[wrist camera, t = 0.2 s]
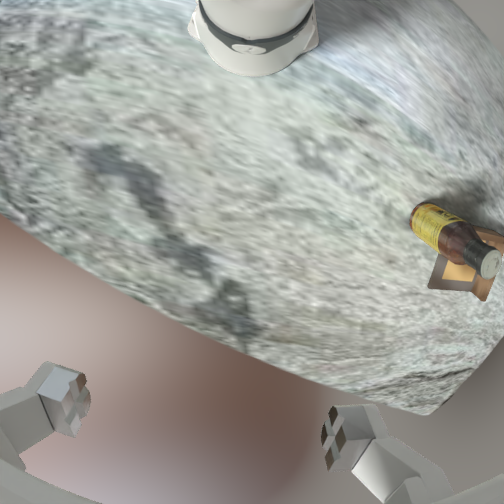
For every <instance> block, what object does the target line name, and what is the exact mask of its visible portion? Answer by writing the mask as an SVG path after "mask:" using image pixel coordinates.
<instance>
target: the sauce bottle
mask: <svg viewBox="0 0 504 504" xmlns="http://www.w3.org/2000/svg"><path fill="white" fill-rule="evenodd" d="M410 227H411V229H412V231H413V232H414V233H415V234H416V236H417V237H419V238H420V239H421V240H423V241H424V242H425V243H427V244H428V245H429V246H431V247H432V248H433V249H434V250H436V251H437V252H438V253H439V254H441V255H442V256H444V257H445V258H447V259H448V260H449V261H450V262H452V263H454V264H456V265H466V264H467V265H468V266H470V267H472V268H473V269H474V270H476V272H477V274H478V275H480V276H481V277H482V278H484V279H486V280H488V279H491V278H493V277H494V276H495V275H496V274H497V273H498V271H499V269H500V267H501V263H502V256H501V253H500V251H499V250H498V249H496V248H495V247H494V246H489V245H488V244H486V243H484V242H483V241H482V240H481V238H480V237H479V235H478V234H477V232H476V231H475V229H474V228H473V226H472V225H471V224H470V223H468V222H467V221H465V220H463V219H461V218H459V217H457V216H455V215H454V214H452V213H450V212H448V211H446V210H444V209H442V208H440V207H438V206H436V205H434V204H429V203H422V204H419V205H418V206H417V207H416V208H415V209H414V210H413V211H412V213H411V216H410Z"/></svg>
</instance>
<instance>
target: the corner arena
mask: <svg viewBox="0 0 504 504" xmlns="http://www.w3.org/2000/svg"><path fill="white" fill-rule="evenodd" d="M472 226H473V228H474V229H475V231H476V232H477V234H478V235H479V237H480V238H481V240H482V241H483V242H484V243H486V244H488V245H489V246H494V247H495V248H496V249H498V250H499V251H500V253H501V256H503V253H504V236H502V235H501V234H499V233H497V232H495V231H494V230H490V229H486V228H482V227H478V226H474V225H472ZM495 276H496V275H495ZM495 276H494V277H493V278H491V279H488V280H486V279H484V278H482V277H481V276H480V275H478V274H477V272H476V270H474V269H473V268H472V267H470V266H468V265H467V264H466V265H456V264H454V263H452V262H450V261H449V260H448V259H447V258H445V257H444V256H442V255H441V254H438V257H437V260H436V263H435V266H434V269H433V272H432V275H431V278H430V281H429V284H428V286H427V287H428V288H429V289H440V290H455V291H470V292H472V293H473V294H474V295H475V296H477V297H478V298H479V299H480V300H481V301H486V299H487V296H488V294H489V291H490V289H491V286H492V284H493V281H494V279H495Z"/></svg>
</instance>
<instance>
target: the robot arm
mask: <svg viewBox="0 0 504 504" xmlns="http://www.w3.org/2000/svg"><path fill="white" fill-rule="evenodd" d="M196 3H197V6H196V8H195V11H194V13H193V15H192V18H191V20H190V22H189V25H188V32H189V34H190V35H191V36H192V37H193V38H195V39H196V40H198V41H199V42H201V43H202V44H203V46H204V47H205V49H206V51H207V52H208V54H209V56H210V57H211V58H212V59H213V60H214V62H216V63H217V64H218V65H219V66H220V67H222V68H223V69H225V70H227V71H229V72H232V73H234V74H238V75H242V76H249V77H258V76H265V75H270V74H273V73H276V72H278V71H280V70H282V69H283V68H285V67H286V66H288V65H289V64H290V63H291V62H292V61H293V60H294V59H295V58H296V57H297V56H299V55H300V54H302V53H305V52H307V51H310V50H312V49H314V48H316V47H317V45H318V43H319V37H318V28H317V20H316V13H315V5H314V0H196ZM86 382H87V380H86V376H85V374H83V373H81V372H79V371H75V370H72V369H69V368H66V367H63V366H61V365H57V364H54V363H51V362H48V361H47V362H44V363H43V364H42V365H41V367H40V368H39V369H38V370H37V372H36V373H35V374H34V375H33V376H32V378H31V379H30V380H29V382H28V383H27V384H26V385H25V387H24V388H22V387H19V388H16V389H14V390H11V391H8V392H5V393H3V394H0V504H102V503H99V502H96V501H92V500H89V499H87V498H84V497H81V496H79V495H76V494H73V493H71V492H68V491H66V490H63V489H61V488H59V487H56V486H54V485H52V484H49V483H47V482H45V481H43V480H41V479H38V478H37V477H34V476H32V475H30V474H28V473H27V472H25V469H26V467H25V464H24V463H23V461H22V460H21V458H20V457H19V454H20V453H22V452H23V451H25V450H27V449H28V448H30V447H31V446H33V445H34V444H36V443H37V442H39V441H41V440H42V439H44V438H46V437H47V436H49V435H50V434H52V433H53V432H54V431H56V432H59V433H62V434H64V435H67V436H70V437H73V438H75V437H76V435H77V432H78V431H79V429H80V427H81V425H82V424H81V421H80V419H81V418H83V417H85V416H86V415H87V413H88V411H89V408H90V403H91V397H90V392H89V390H88V389H87V388H86V387H85V384H86ZM328 415H329V419H328V420H327V421H325V422H324V424H323V427H322V431H321V443H322V447H323V448H324V449H325V450H326V451H328V452H327V454H326V455H325V461H326V465H327V470H328V472H337V471H350V470H352V473H354V475H355V476H356V477H357V478H358V479H359V480H360V481H361V482H362V483H363V484H364V485H365V486H366V487H367V488H368V489H369V490H370V491H371V492H372V493H373V494H374V495H375V496H376V497H377V498H378V499H379V500H380V501H381V502H382V503H383V504H504V473H502V474H500V475H499V476H497V477H494V478H492V479H491V480H488V481H486V482H484V483H482V484H480V485H477V486H475V487H473V488H470V489H468V490H466V491H463V492H461V493H458V494H456V495H454V492H453V491H452V488H451V486H450V484H449V482H448V480H447V478H446V476H445V474H444V472H443V470H442V468H440V467H439V466H437V465H436V464H434V463H432V462H431V461H429V460H428V459H426V458H425V457H423V456H422V455H420V454H419V453H417V452H416V451H414V450H413V449H412V448H410V447H409V446H407V445H406V444H404V443H403V442H401V441H400V440H399V439H397V438H396V437H390V435H389V432H388V430H387V428H386V425H385V423H384V421H383V419H382V417H381V414H380V412H379V410H378V408H377V406H376V405H375V404H362V405H340V406H339V405H338V406H332V407H331V408H330V410H329V413H328Z"/></svg>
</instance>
